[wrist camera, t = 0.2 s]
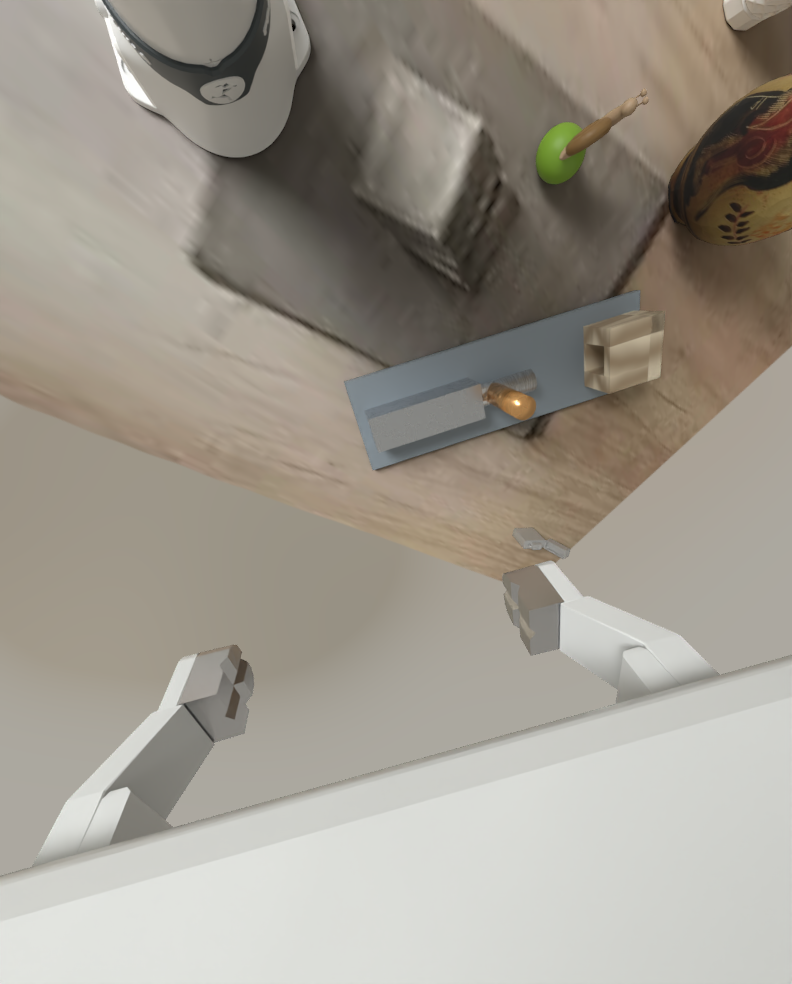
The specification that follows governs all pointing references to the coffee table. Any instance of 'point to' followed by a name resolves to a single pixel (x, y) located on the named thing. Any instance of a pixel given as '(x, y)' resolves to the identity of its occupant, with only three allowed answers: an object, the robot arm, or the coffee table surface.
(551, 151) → the snail figurine
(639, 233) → the coffee table surface
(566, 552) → the lighter
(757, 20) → the white cup
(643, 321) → the birch socket
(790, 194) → the ceramic jug
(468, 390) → the grey sleeve
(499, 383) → the bolt with orange handle
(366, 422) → the slate board
